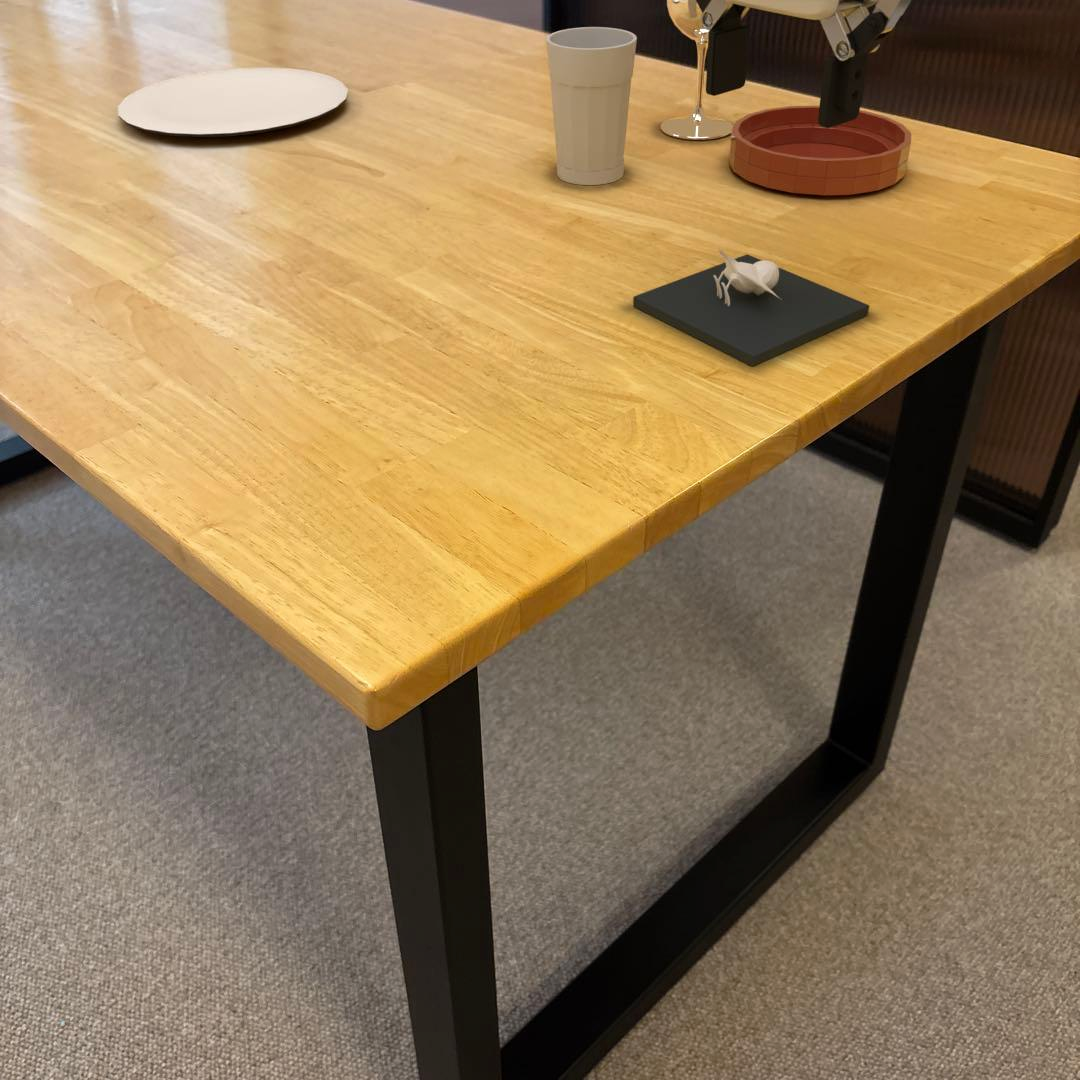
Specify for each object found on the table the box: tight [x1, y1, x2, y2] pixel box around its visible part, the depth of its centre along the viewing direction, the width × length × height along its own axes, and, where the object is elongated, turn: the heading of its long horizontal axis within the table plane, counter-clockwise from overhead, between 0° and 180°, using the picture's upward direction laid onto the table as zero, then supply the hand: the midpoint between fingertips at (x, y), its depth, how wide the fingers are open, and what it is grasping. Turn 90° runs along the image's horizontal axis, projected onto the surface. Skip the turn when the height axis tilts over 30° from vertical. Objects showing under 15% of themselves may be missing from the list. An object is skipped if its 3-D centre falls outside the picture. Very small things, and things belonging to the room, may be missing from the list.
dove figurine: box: [713, 247, 782, 306], centre depth 78 cm, size 8×5×5 cm, turn 18°
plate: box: [117, 66, 349, 138], centre depth 120 cm, size 25×25×2 cm
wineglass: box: [660, 0, 734, 141], centre depth 107 cm, size 8×8×20 cm
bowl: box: [728, 105, 912, 196], centre depth 102 cm, size 16×16×4 cm
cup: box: [546, 26, 638, 186], centre depth 99 cm, size 8×8×12 cm
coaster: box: [632, 253, 870, 367], centre depth 79 cm, size 12×12×1 cm
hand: (779, 106), depth 70 cm, fingers open, 9 cm apart
